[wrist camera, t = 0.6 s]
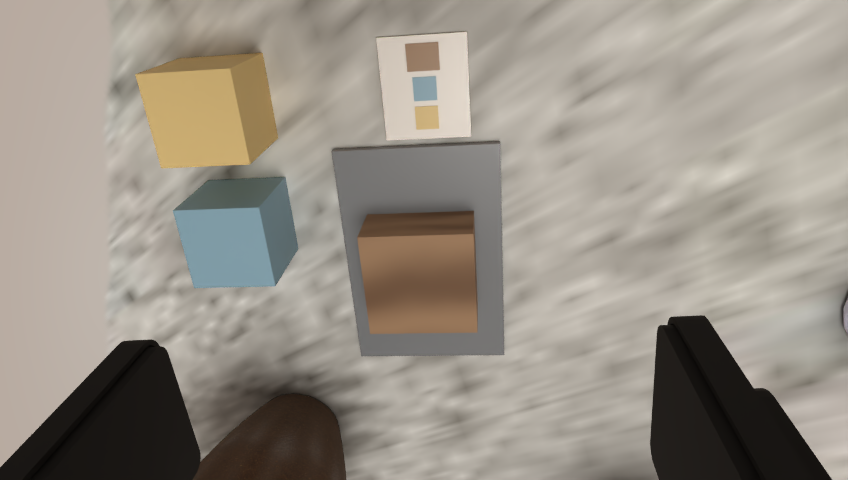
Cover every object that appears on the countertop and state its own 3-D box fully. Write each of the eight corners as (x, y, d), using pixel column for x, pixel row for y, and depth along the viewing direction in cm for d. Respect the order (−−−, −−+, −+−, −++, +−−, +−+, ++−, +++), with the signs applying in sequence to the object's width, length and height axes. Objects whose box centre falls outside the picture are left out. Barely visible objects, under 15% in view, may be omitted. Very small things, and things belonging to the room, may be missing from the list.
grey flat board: (333, 148, 44) (331, 151, 43) (499, 141, 42) (500, 143, 42) (362, 351, 51) (361, 356, 51) (503, 350, 50) (504, 354, 50)
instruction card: (376, 37, 40) (375, 38, 40) (466, 31, 39) (466, 32, 39) (387, 139, 43) (386, 140, 43) (471, 135, 42) (471, 136, 42)
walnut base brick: (367, 214, 45) (357, 237, 41) (474, 210, 44) (473, 233, 41) (378, 305, 48) (370, 333, 45) (477, 303, 48) (477, 332, 44)
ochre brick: (179, 58, 42) (135, 74, 36) (262, 52, 41) (229, 68, 36) (200, 141, 44) (161, 168, 39) (278, 137, 44) (249, 164, 38)
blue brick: (209, 179, 46) (172, 210, 40) (285, 176, 45) (258, 207, 40) (226, 250, 48) (194, 287, 43) (298, 248, 48) (275, 286, 42)
